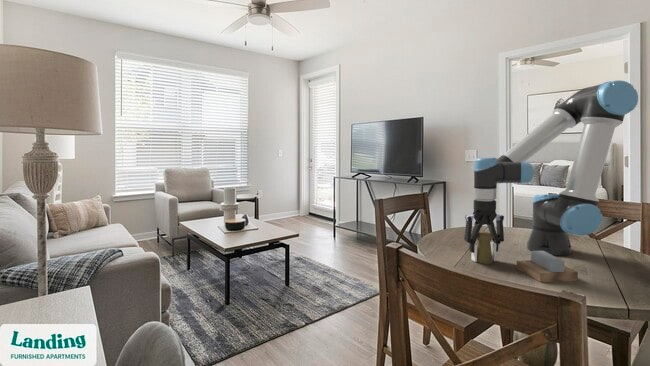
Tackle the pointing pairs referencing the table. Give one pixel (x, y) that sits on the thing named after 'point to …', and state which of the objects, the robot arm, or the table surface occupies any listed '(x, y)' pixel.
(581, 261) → the table surface
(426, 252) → the table surface
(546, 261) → the slate-grey block
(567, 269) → the wooden flat board
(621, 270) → the table surface
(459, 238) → the table surface
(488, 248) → the olive ball-ended rod
